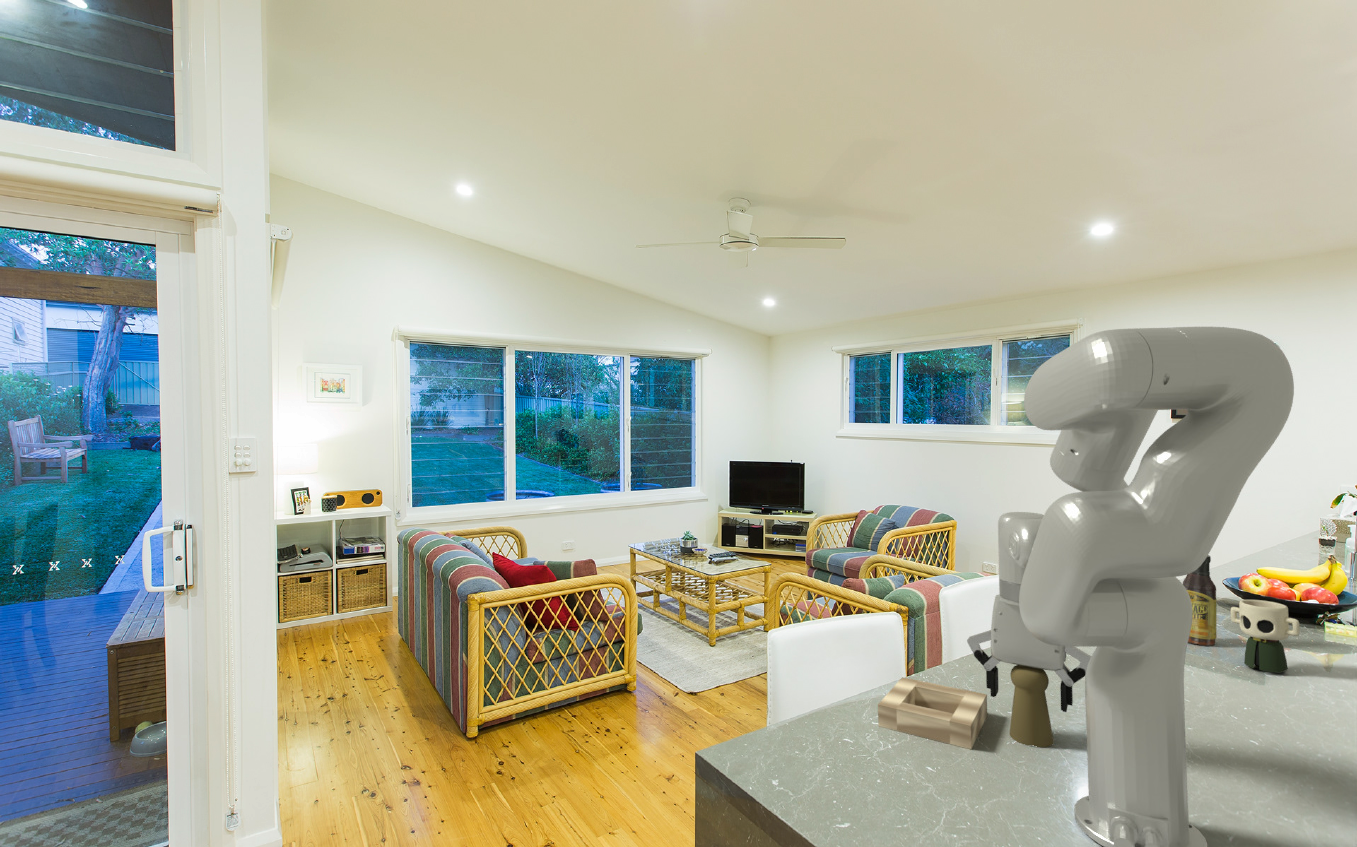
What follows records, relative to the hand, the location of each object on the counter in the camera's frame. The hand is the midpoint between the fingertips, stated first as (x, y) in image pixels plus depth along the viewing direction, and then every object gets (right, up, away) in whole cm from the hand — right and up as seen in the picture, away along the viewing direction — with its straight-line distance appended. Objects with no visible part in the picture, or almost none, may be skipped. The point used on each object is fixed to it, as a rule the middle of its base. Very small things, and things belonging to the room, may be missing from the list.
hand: (1028, 700), depth 98 cm
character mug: (+62, -6, +26) cm, 67 cm away
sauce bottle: (+62, -6, +42) cm, 76 cm away
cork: (0, -6, -1) cm, 6 cm away
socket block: (-13, -6, +6) cm, 15 cm away
